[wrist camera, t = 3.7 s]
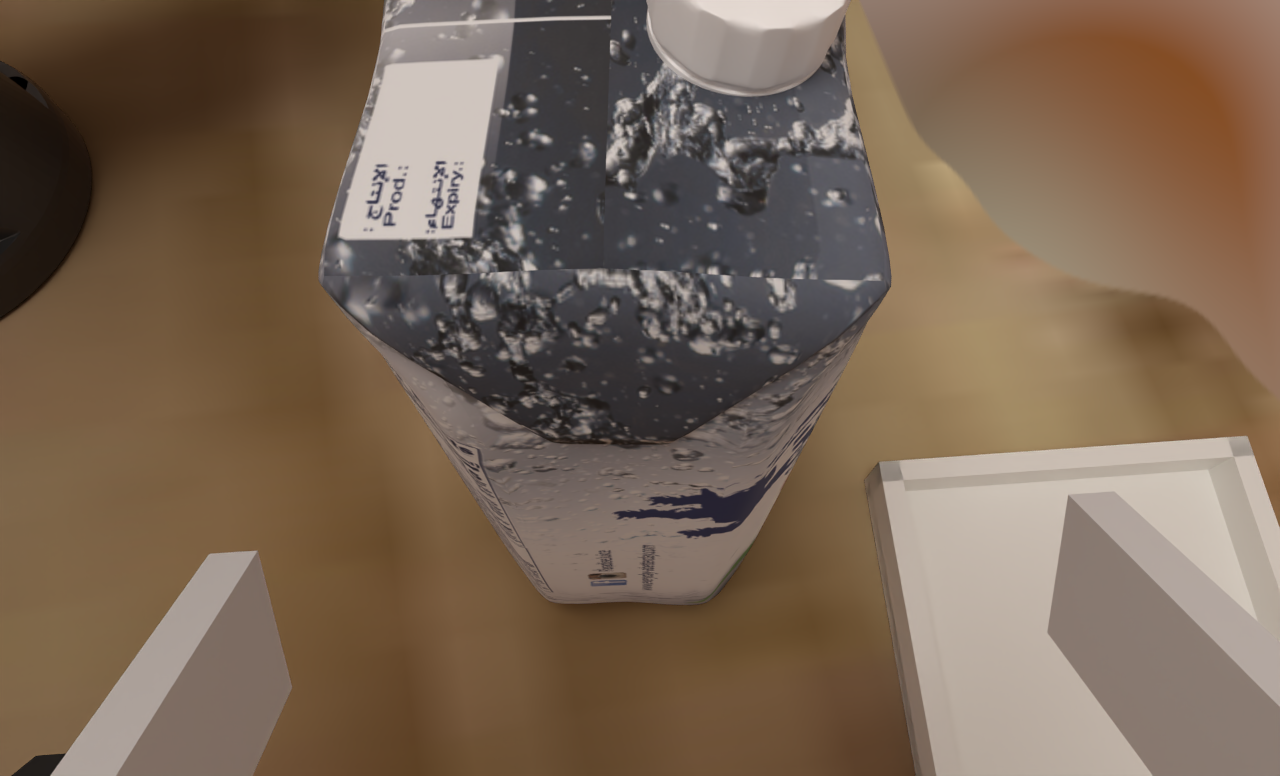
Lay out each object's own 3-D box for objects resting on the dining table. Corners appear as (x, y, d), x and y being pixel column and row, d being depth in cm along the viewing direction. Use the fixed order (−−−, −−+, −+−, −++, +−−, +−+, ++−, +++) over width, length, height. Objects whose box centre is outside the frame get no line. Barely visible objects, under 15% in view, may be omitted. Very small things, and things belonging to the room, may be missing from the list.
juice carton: (514, 621, 35) (197, 283, 10) (530, 374, 39) (331, -308, 14) (742, 623, 35) (995, 290, 10) (734, 376, 39) (901, -306, 14)
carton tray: (864, 480, 37) (878, 461, 35) (1209, 455, 37) (1247, 435, 35) (939, 911, 31) (963, 923, 29) (1349, 876, 32) (1404, 886, 29)
